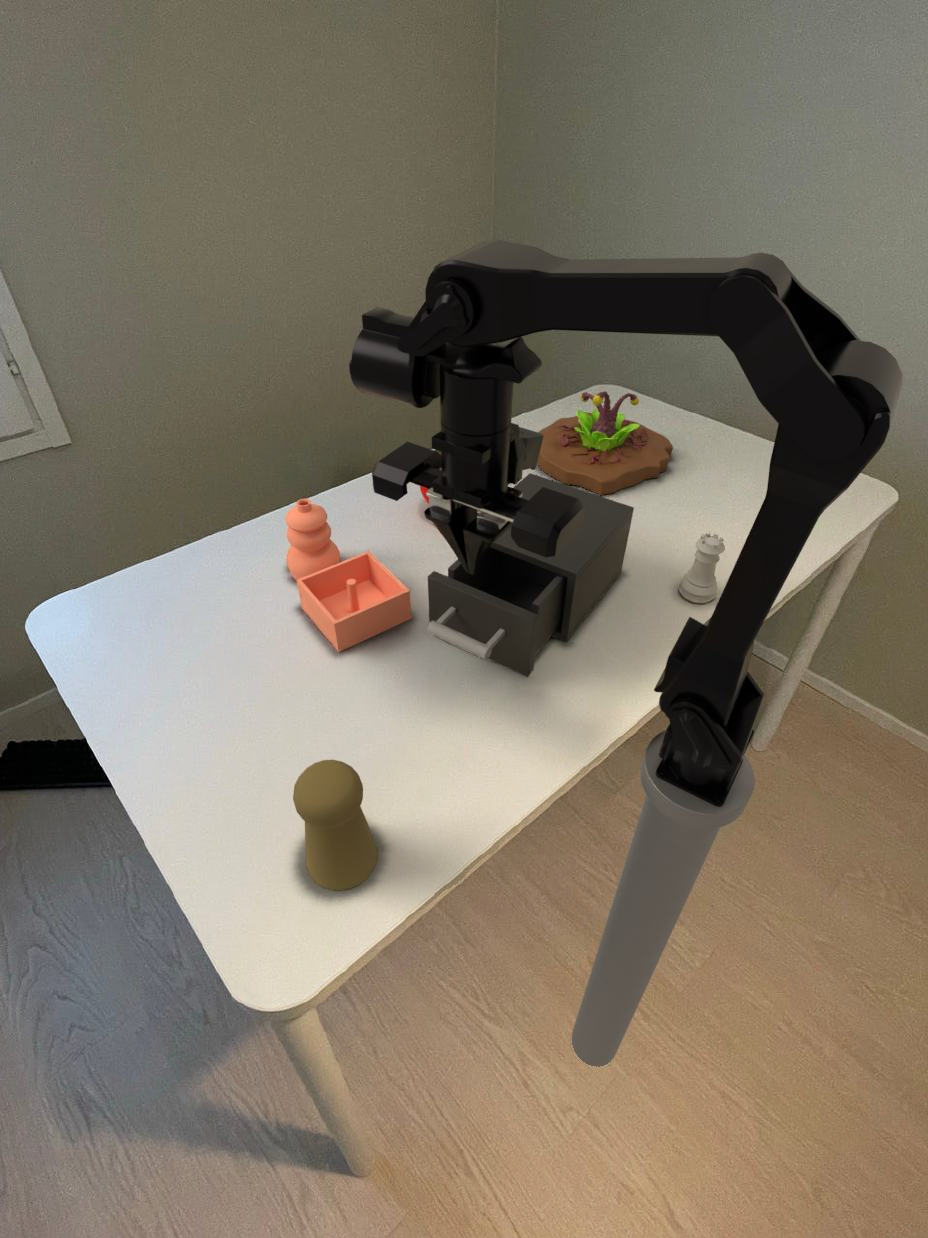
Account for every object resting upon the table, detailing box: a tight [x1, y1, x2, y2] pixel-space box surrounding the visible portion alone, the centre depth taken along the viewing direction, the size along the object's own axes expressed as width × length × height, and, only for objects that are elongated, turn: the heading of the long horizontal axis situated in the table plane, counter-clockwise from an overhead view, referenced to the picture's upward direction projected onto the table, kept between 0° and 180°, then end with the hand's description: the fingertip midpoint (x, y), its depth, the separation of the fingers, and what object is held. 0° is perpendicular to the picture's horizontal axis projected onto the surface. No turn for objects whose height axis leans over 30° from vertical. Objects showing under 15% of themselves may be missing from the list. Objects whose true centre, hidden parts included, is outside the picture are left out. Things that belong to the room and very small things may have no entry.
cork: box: [292, 759, 379, 892], centre depth 56 cm, size 6×6×11 cm
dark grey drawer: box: [426, 547, 568, 678], centre depth 76 cm, size 18×13×8 cm
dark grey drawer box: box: [490, 472, 635, 643], centre depth 83 cm, size 15×14×10 cm
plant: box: [537, 391, 674, 496], centre depth 105 cm, size 20×20×11 cm
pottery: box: [284, 498, 412, 653], centre depth 81 cm, size 18×10×10 cm, turn 36°
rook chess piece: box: [678, 532, 726, 604], centre depth 82 cm, size 4×4×8 cm
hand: (473, 571), depth 67 cm, fingers closed
